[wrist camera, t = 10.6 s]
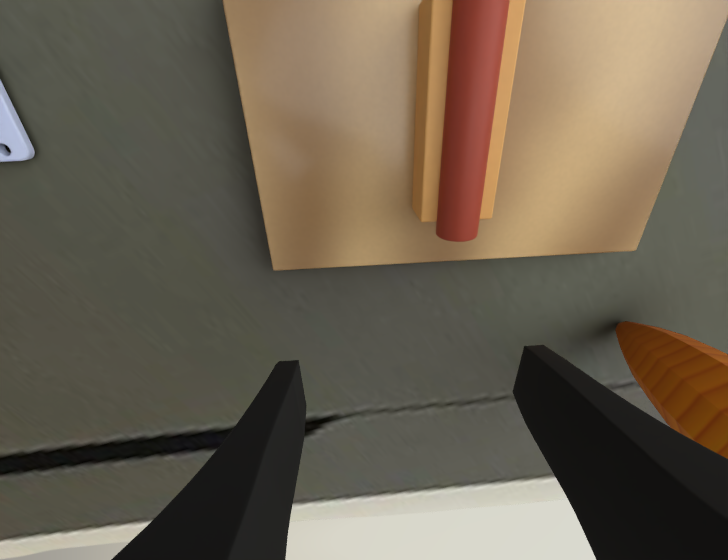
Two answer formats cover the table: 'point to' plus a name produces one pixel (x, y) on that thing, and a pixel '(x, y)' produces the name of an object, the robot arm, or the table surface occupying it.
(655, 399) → the carrot
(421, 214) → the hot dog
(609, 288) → the table surface
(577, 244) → the oak board
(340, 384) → the table surface
